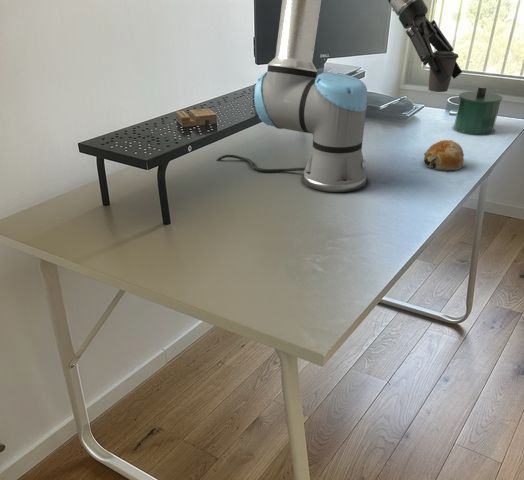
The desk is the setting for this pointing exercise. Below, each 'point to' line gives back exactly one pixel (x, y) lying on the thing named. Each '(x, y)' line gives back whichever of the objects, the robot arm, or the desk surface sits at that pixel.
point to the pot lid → (480, 96)
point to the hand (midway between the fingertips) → (451, 77)
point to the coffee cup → (448, 64)
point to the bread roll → (444, 156)
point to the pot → (476, 117)
